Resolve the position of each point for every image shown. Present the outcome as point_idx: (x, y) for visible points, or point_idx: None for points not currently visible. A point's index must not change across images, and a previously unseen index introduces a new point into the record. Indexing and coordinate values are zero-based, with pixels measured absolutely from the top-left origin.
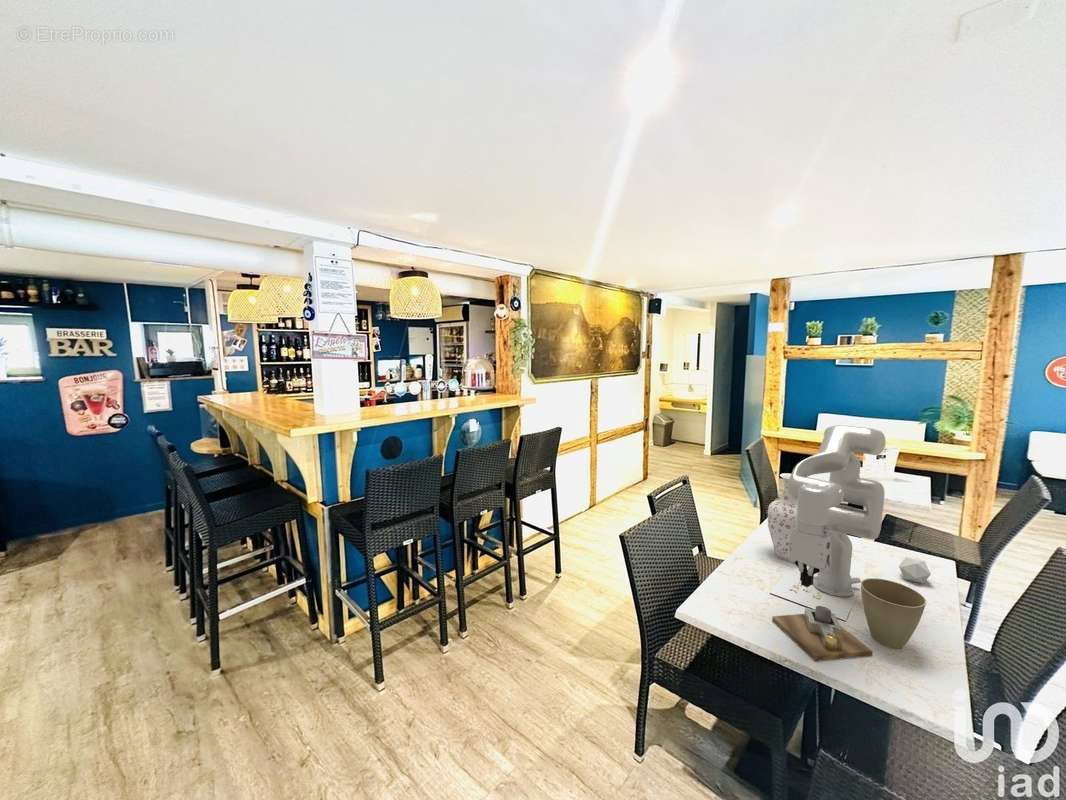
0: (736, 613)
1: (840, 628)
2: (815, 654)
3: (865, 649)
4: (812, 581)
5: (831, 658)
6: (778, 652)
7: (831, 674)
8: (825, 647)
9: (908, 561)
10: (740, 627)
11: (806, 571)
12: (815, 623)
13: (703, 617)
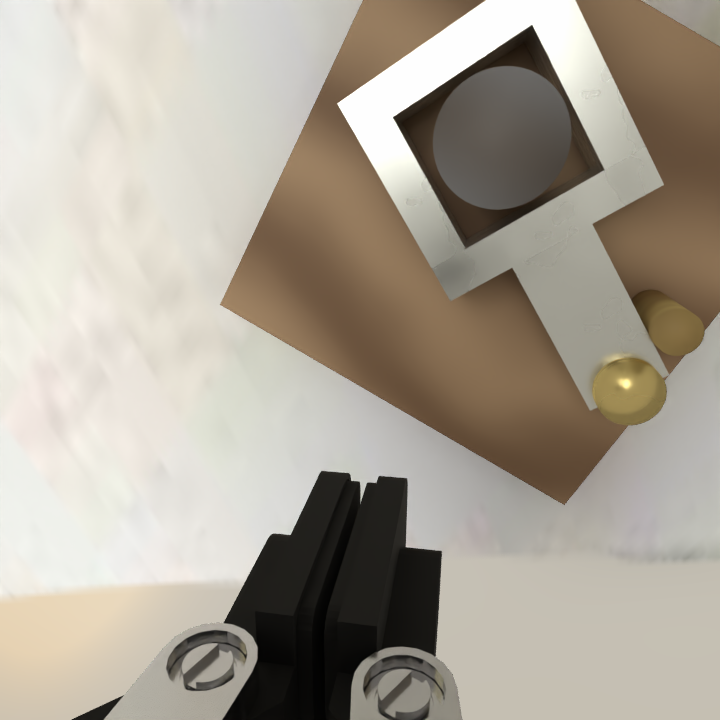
0: (80, 399)
1: (653, 182)
2: (558, 489)
3: None
4: (438, 600)
5: None
6: None
7: (658, 531)
8: None
9: None
10: (171, 505)
11: (292, 711)
12: (483, 282)
13: (25, 564)
